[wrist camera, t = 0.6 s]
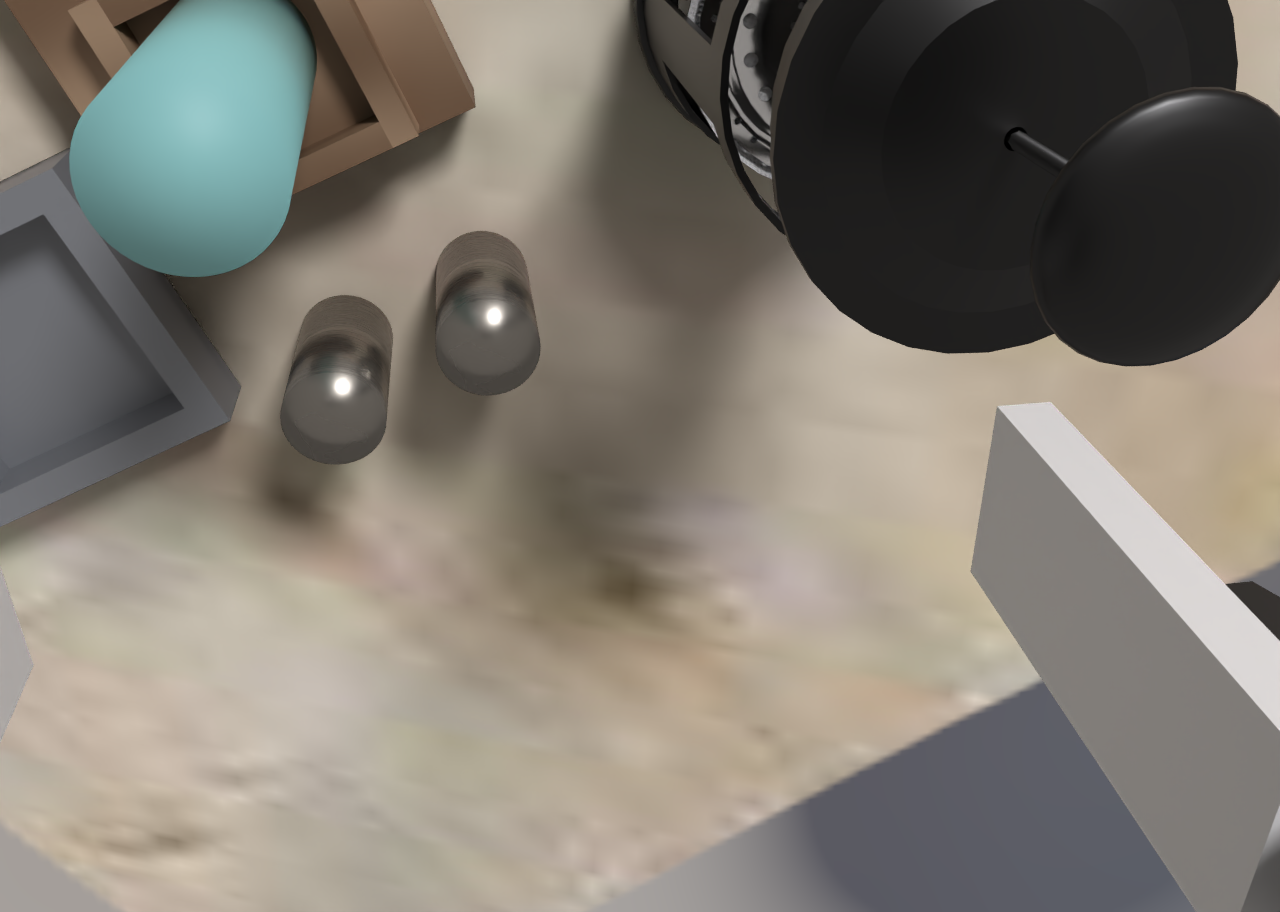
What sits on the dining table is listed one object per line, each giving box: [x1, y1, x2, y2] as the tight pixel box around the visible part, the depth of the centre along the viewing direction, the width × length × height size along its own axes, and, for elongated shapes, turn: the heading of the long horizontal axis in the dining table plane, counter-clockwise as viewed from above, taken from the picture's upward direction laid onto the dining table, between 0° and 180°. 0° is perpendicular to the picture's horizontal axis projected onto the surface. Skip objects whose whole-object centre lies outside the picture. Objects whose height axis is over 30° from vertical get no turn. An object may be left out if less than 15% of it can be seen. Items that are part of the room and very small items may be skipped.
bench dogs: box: [280, 231, 540, 464], centre depth 38 cm, size 3×8×6 cm, turn 113°
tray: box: [0, 148, 241, 527], centre depth 38 cm, size 9×9×2 cm
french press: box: [634, 0, 1280, 366], centre depth 27 cm, size 12×9×23 cm
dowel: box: [69, 0, 317, 277], centre depth 28 cm, size 4×4×12 cm
